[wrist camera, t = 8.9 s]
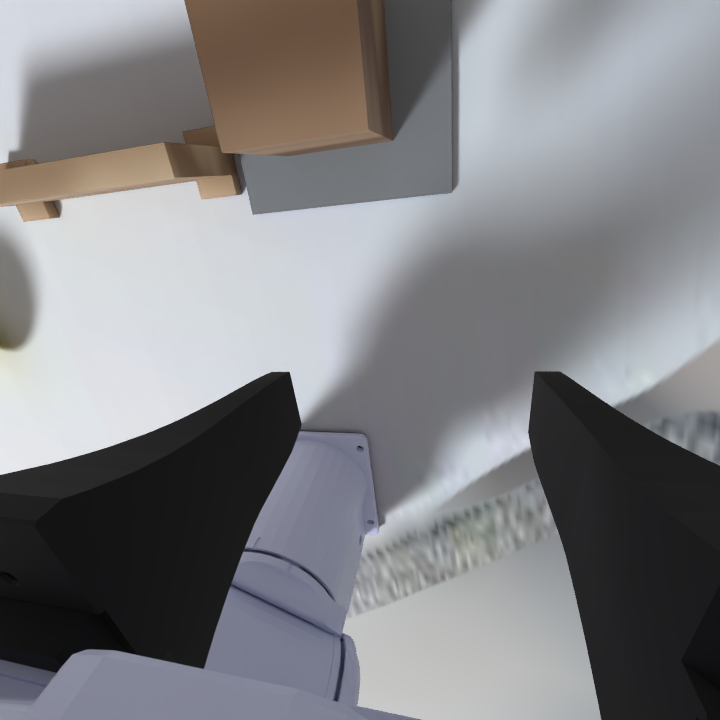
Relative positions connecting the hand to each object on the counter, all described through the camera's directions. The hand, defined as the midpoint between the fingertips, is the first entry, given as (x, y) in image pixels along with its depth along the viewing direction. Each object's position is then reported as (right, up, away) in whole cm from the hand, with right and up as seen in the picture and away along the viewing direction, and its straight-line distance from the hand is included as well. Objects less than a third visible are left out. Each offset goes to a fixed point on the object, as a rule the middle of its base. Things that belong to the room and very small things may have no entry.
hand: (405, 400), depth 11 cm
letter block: (-3, +13, +5) cm, 14 cm away
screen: (-14, +11, +9) cm, 20 cm away
